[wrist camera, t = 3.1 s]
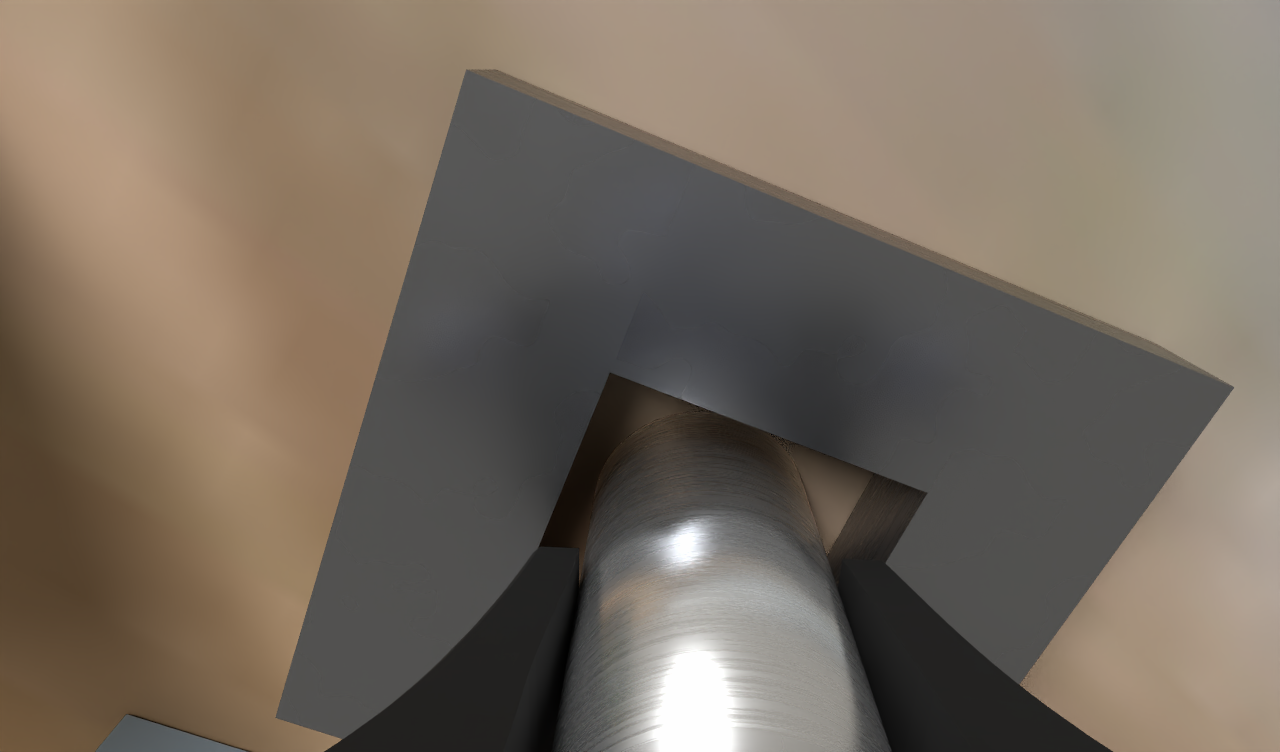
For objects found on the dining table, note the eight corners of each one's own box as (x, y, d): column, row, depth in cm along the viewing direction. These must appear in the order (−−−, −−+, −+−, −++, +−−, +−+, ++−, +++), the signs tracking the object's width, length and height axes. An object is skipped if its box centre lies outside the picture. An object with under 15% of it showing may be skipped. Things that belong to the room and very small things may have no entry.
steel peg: (841, 456, 15) (1001, 807, 8) (751, 621, 16) (817, 1046, 9) (640, 380, 14) (614, 676, 7) (565, 555, 16) (483, 947, 9)
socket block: (1156, 344, 14) (1233, 387, 12) (840, 815, 18) (861, 902, 16) (496, 69, 12) (466, 69, 11) (318, 645, 17) (275, 718, 15)
